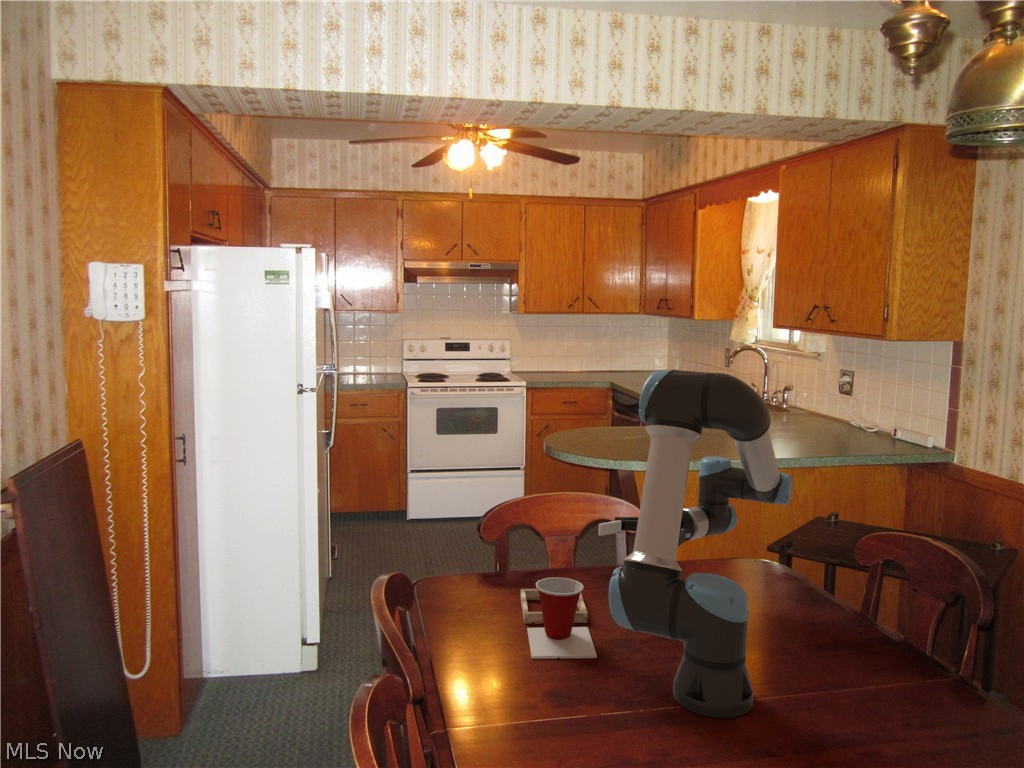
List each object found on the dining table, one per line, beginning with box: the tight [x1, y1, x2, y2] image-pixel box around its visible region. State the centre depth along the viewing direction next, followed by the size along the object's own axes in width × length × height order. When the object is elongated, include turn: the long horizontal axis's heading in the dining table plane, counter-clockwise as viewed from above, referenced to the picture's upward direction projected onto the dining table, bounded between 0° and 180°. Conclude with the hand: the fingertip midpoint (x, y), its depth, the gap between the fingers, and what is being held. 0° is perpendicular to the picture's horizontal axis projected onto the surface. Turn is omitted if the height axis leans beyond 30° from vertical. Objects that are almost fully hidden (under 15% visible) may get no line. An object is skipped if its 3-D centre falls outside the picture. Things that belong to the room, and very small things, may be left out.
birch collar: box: [520, 588, 589, 625], centre depth 192 cm, size 15×15×2 cm
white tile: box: [526, 626, 598, 660], centre depth 174 cm, size 14×14×1 cm
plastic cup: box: [535, 576, 585, 640], centre depth 176 cm, size 11×11×12 cm
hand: (618, 537), depth 178 cm, fingers open, 13 cm apart
